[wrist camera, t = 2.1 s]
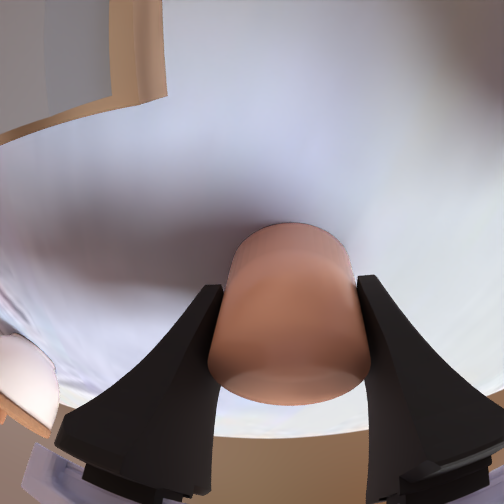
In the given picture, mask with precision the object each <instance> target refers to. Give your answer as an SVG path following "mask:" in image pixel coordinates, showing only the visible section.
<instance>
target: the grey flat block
mask: <svg viewBox="0 0 504 504" xmlns="http://www.w3.org/2000/svg"><path fill="white" fill-rule="evenodd" d="M109 96H112V89H111V76H110V58H109V0H0V134H2V133H5V132H7V131H10V130H12V129H15V128H18V127H21V126H23V125H26V124H29V123H32V122H35V121H38V120H41V119H44V118H48V117H51V116H53V115H56V114H58V113H61V112H64V111H66V110H69V109H72V108H75V107H77V106H80V105H83V104H86V103H89V102H93V101H96V100H99V99H102V98H106V97H109Z"/></svg>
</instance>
